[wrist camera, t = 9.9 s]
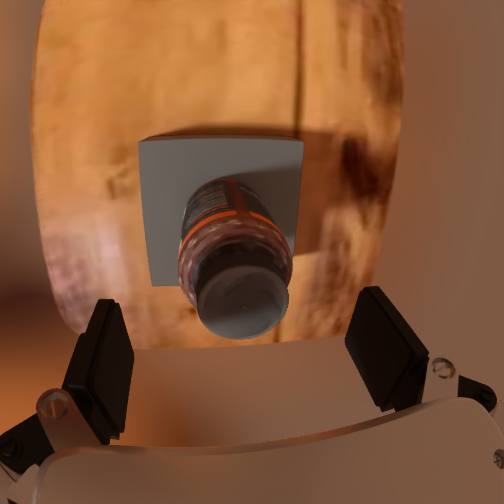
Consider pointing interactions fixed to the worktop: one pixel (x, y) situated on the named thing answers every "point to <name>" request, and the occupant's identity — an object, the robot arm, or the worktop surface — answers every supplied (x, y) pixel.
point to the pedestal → (205, 170)
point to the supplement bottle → (233, 261)
